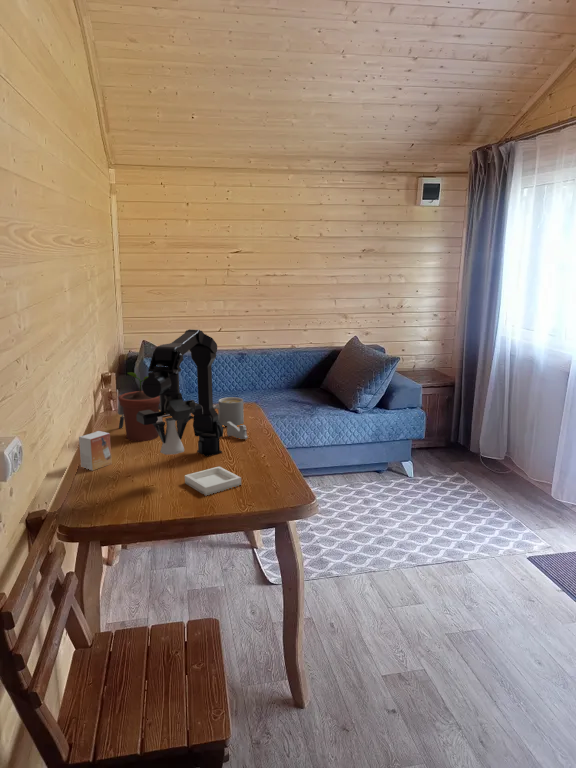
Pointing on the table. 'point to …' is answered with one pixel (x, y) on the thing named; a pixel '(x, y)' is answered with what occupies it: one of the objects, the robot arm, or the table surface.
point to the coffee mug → (230, 411)
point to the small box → (95, 450)
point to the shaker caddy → (212, 480)
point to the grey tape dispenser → (236, 431)
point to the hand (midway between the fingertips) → (171, 441)
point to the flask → (171, 439)
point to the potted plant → (130, 408)
